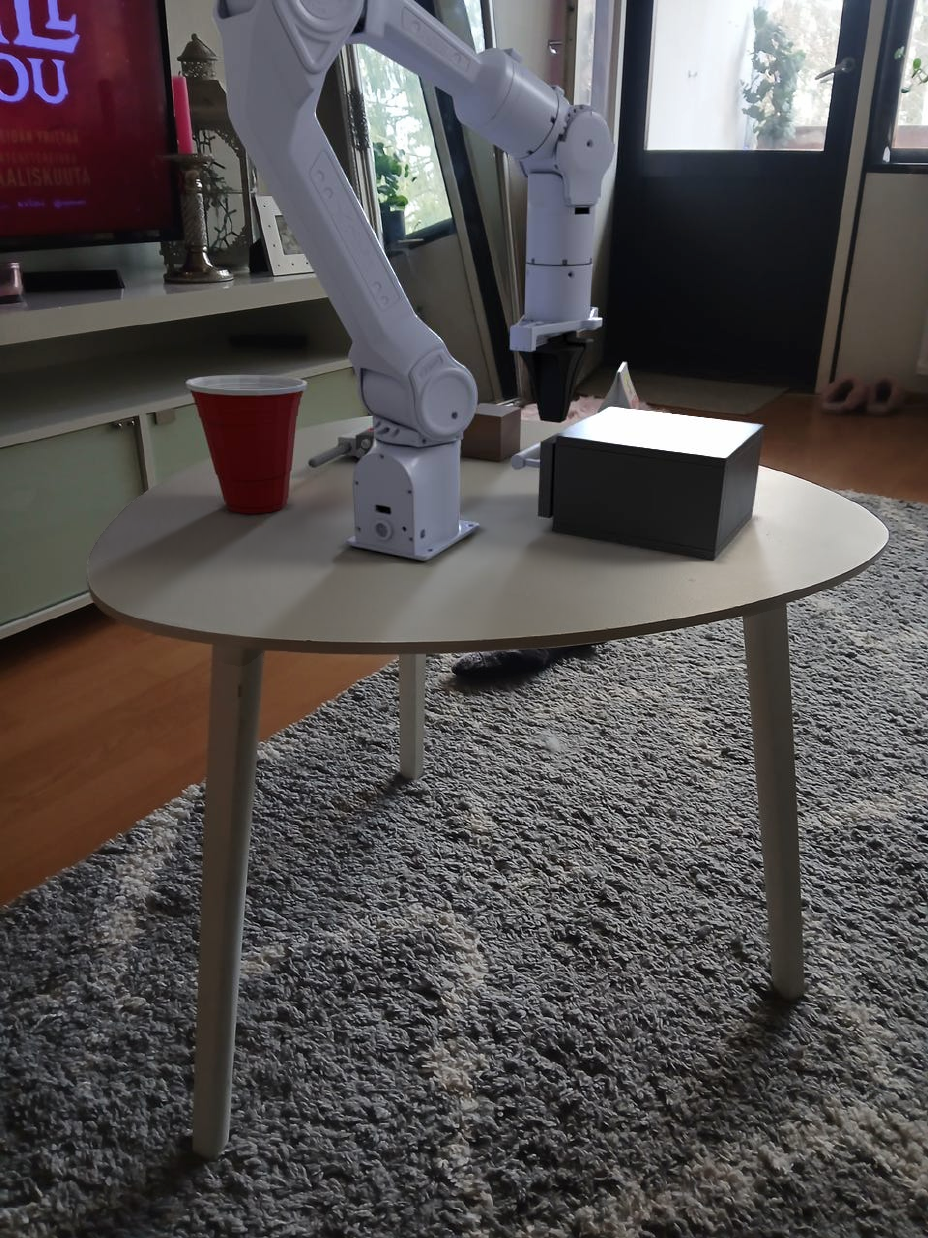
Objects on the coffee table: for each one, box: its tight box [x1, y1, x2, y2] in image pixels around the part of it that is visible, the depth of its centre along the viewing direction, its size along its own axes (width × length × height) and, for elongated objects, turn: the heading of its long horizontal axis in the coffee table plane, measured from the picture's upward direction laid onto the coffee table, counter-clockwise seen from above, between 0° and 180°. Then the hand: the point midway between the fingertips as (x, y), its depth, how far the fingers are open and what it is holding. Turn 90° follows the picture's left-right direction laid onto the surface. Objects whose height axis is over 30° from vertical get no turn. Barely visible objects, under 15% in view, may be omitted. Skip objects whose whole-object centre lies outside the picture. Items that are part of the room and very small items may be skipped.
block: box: [460, 402, 522, 463], centre depth 108 cm, size 5×5×5 cm
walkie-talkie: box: [307, 426, 374, 469], centre depth 107 cm, size 9×4×20 cm
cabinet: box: [551, 407, 765, 561], centre depth 86 cm, size 15×13×9 cm
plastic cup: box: [185, 374, 308, 515], centre depth 90 cm, size 11×11×12 cm
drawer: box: [509, 415, 594, 519], centre depth 88 cm, size 18×11×7 cm, turn 61°
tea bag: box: [597, 361, 639, 414], centre depth 105 cm, size 4×7×10 cm, turn 166°
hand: (553, 420), depth 89 cm, fingers closed
